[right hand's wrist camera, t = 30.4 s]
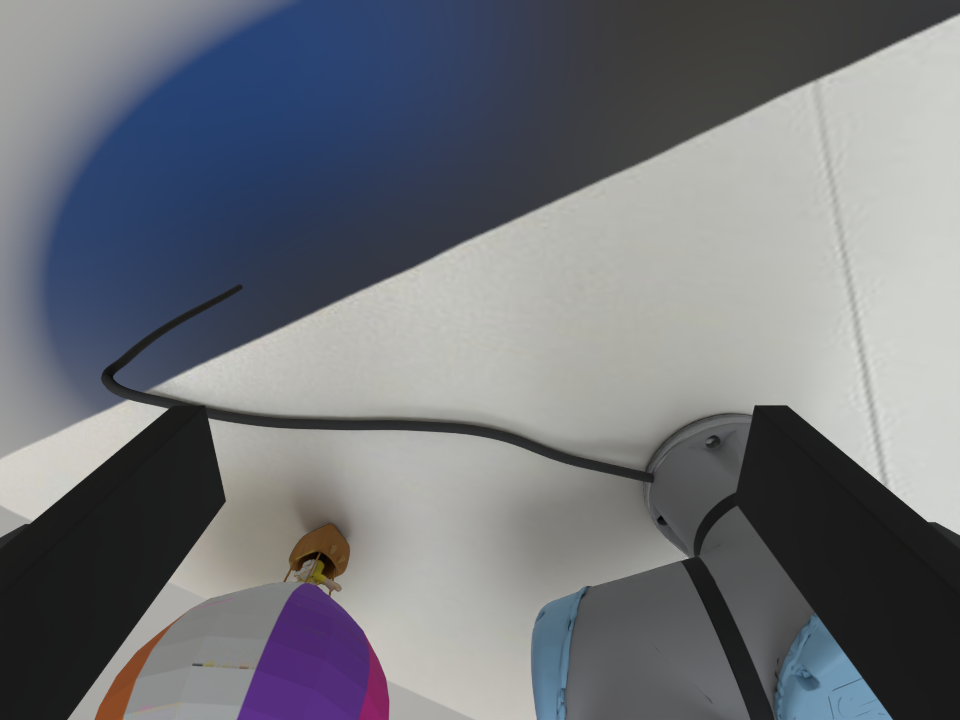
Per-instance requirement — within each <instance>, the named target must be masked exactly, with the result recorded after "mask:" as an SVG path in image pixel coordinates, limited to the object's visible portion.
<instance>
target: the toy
mask: <svg viewBox="0 0 960 720" xmlns="http://www.w3.org/2000/svg"><path fill="white" fill-rule="evenodd" d="M349 554H350V547H349V544H348V543H347V541H346V540H345V539H344V538H343V536H342V535H341V534H340V533H339V531H338V530H337V529H336V528H335V526H334V525H333V524H327V525H325V526H323V527H321V528H319V529H317V530H315V531H313V532H310V533H308V534H306V535H305V536H303V537H302V538H301V539H300V540H299V542H298V543H297V545H296V546H295V548H294V549H293V551H292V553H291V555H290V558H289V563H290V565H291V566H290V567H291V568H290V570H289V572H288V574H287V576H286V578H285V580H284V581H283V582H282V583H272V584H267V585H263V586H258V587H254V588H250V589H246V590H242V591H238V592H234V593H230V594H226V595H222V596H218V597H214V598H210V599H209V600H207V601H205V602H203V603H201V604H199V605H197V606H195V607H193V608H192V609H190V610H189V611H187V612H186V613H185V614H183V615H182V616H181V617H179V618H178V619H177V620H176V621H174V622H173V623H172V624H170V625H169V626H168V627H166V628H165V629H164V630H162V631H161V632H160V633H159V634H157V635H156V636H155V637H154V638H153V639H151V640H150V641H149V642H148V643H147V644H146V645H144V646H143V647H142V648H141V649H140V650H138V651H137V652H136V654H135V655H134V656H133V657H132V658H131V659H130V661H129V662H128V663H127V664H126V666H125V667H124V668H123V669H122V670H121V672H120V673H119V674H118V675H117V676H116V678H115V680H114V682H113V683H112V685H111V687H110V689H109V690H108V692H107V694H106V696H105V698H104V700H103V701H102V703H101V705H100V706H99V709H98V712H97V715H96V717H95V720H389V696H388V689H387V682H386V677H385V675H384V672H383V670H382V667H381V665H380V662H379V660H378V658H377V656H376V654H375V652H374V650H373V648H372V647H371V645H370V643H369V641H368V639H367V637H366V635H365V634H364V632H363V630H362V629H361V628H360V627H359V625H358V624H357V623H356V622H355V621H354V620H353V619H352V617H351V616H350V615H349V614H348V613H347V612H346V611H345V610H344V609H343V608H342V607H341V606H340V605H339V604H338V603H336V602H335V601H334V600H333V599H332V598H331V597H330V596H331V591H333V590H334V589H335V590H336V591H337V592H339V591H340V590H341V589H342V587H341V586H340V585H339V584H338V583H336V582H334V578H335V577H337V576H339V575H341V574H343V573H344V571H345V570H346V567H347V564H348V560H349ZM291 570H293V571H296V573H295V574H294V577H297V580H298V582H285V581H286V580H287V578H288V576H289V574H290V572H291ZM330 579H332V580H330ZM319 584H323V585H326V586H327V587H328V588H329V590H330V592H329V596H328V595H327V594H326V593H324V592H323V590H321V589H320V588H319V587H318V586H317V585H319Z"/></svg>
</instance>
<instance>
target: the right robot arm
mask: <svg viewBox="0 0 960 720" xmlns="http://www.w3.org/2000/svg"><path fill="white" fill-rule="evenodd" d="M242 289H243V286H242V285H241V284H239V285H237V286H235V287H233V288H232V289H230V290H228V291H226V292H224V293H223V294H221V295H219V296H217V297H215V298H213V299H211V300H209V301H207V302H205V303H203V304H201V305H199V306H197V307H195V308H193V309H191V310H190V311H188V312H186V313H184V314H182V315H180V316H178V317H176V318H175V319H173V320H171V321H169V322H168V323H166V324H164V325H163V326H161V327H160V328H158V329H156V330H155V331H154V332H152V333H151V334H149V335H148V336H146V337H145V338H143V339H142V340H141V341H139V342H138V343H137V344H136V345H134V346H133V347H132V348H131V349H129V350H128V351H127V352H126V353H125V354H124V355H122V356H121V357H120V358H119V359H118V360H116V361H115V362H113V363H112V364H111V365H109V366H108V367H107V368H106V369H105V370H104V371H103V373H102V376H101V380H102V382H103V384H104V385H105V387H106V388H107V389H108V390H109V391H111V392H112V393H114V394H116V395H118V396H120V397H123V398H126V399H129V400H133V401H137V402H141V403H146V404H150V405H155V406H160V407H164V408H168V410H167V411H166V412H165V413H163V414H162V415H161V416H160V417H159V418H157V419H156V420H155V421H154V422H153V423H151V424H150V425H149V426H148V427H147V428H145V429H144V430H143V431H142V432H140V433H139V434H138V435H137V436H136V437H134V438H133V439H132V440H131V441H130V442H128V443H127V444H126V445H125V446H124V447H122V448H121V449H120V450H119V451H118V452H116V453H115V454H114V455H113V456H111V457H110V458H109V459H108V460H107V461H105V462H104V463H103V464H102V465H101V466H99V467H98V468H97V469H96V470H95V471H93V472H92V473H91V474H90V475H89V476H87V477H86V478H85V479H84V480H83V481H81V482H80V483H79V484H78V485H76V486H75V487H74V488H73V489H72V490H70V491H69V492H68V493H67V494H66V495H64V496H63V497H62V498H61V499H60V500H58V501H57V502H56V503H55V504H54V505H52V506H51V507H50V508H49V509H47V510H46V511H45V512H44V513H43V514H41V515H40V516H39V517H38V518H37V519H35V520H34V521H33V522H32V523H31V524H24V525H23V526H21V527H19V528H17V529H15V530H13V531H12V532H10V533H8V534H6V535H4V536H2V537H1V538H0V720H67V719H68V718H69V717H70V715H71V714H72V712H73V711H74V710H75V708H76V707H77V706H78V704H79V703H80V701H81V700H82V699H83V697H84V696H85V695H86V693H87V692H88V690H89V689H90V688H91V686H92V685H93V684H94V682H95V681H96V679H97V678H98V677H99V675H100V674H101V673H102V671H103V670H104V668H105V667H106V666H107V664H108V663H109V661H110V660H111V659H112V657H113V656H114V655H115V653H116V652H117V650H118V649H119V648H120V646H121V645H122V644H123V642H124V641H125V639H126V638H127V637H128V635H129V634H130V633H131V631H132V630H133V628H134V627H135V626H136V624H137V623H138V621H139V620H140V619H141V617H142V616H143V615H144V613H145V612H146V611H147V609H148V608H149V606H150V605H151V604H152V602H153V601H154V599H155V598H156V597H157V595H158V594H159V593H160V591H161V590H162V589H163V587H164V586H165V584H166V583H167V582H168V580H169V579H170V578H171V576H172V575H173V573H174V572H175V571H176V569H177V568H178V567H179V565H180V564H181V562H182V561H183V560H184V558H185V557H186V555H187V554H188V553H189V551H190V550H191V549H192V547H193V546H194V544H195V543H196V542H197V540H198V539H199V538H200V536H201V535H202V533H203V532H204V531H205V529H206V528H207V527H208V525H209V524H210V522H211V521H212V520H213V518H214V517H215V516H216V514H217V513H218V511H219V510H220V509H221V507H222V506H223V505H224V503H225V502H226V499H225V495H224V490H223V485H222V481H221V476H220V471H219V467H218V462H217V458H216V453H215V448H214V444H213V439H212V435H211V430H210V425H209V421H208V418H210V419H216V420H221V421H227V422H233V423H240V424H247V425H255V426H264V427H275V428H291V429H324V430H410V431H430V432H447V433H459V434H468V435H475V436H481V437H486V438H491V439H496V440H500V441H504V442H507V443H510V444H514V445H516V446H519V447H522V448H525V449H527V450H530V451H532V452H535V453H537V454H540V455H542V456H545V457H548V458H550V459H553V460H556V461H559V462H563V463H566V464H570V465H574V466H577V467H582V468H586V469H590V470H595V471H600V472H604V473H609V474H613V475H618V476H622V477H627V478H631V479H635V480H640V481H644V499H645V503H646V506H647V508H648V511H649V513H650V515H651V517H652V519H653V521H654V523H655V525H656V526H657V528H658V529H659V530H660V532H661V533H662V534H663V535H664V536H665V537H666V538H667V539H668V540H669V541H670V542H672V543H673V544H674V545H675V546H676V547H677V548H679V549H680V550H681V551H682V552H683V553H684V554H685V555H687V556H688V557H689V559H686V560H683V561H678V562H675V563H672V564H668V565H665V566H662V567H658V568H655V569H652V570H649V571H645V572H642V573H639V574H636V575H632V576H629V577H625V578H622V579H618V580H615V581H611V582H608V583H604V584H601V585H597V586H594V587H591V586H587V587H583V588H582V589H581V590H580V591H579V592H576V593H574V594H571V595H568V596H566V597H563V598H560V599H557V600H554V601H552V602H550V603H548V604H547V605H545V606H544V607H543V608H542V609H541V611H540V612H539V614H538V616H537V618H536V621H535V625H534V629H533V633H532V643H531V672H532V685H533V694H534V702H535V710H536V716H537V720H960V535H958V534H956V533H954V532H953V531H951V530H949V529H947V528H945V527H943V526H942V525H940V524H938V523H936V522H927V521H926V520H925V519H923V518H922V517H921V516H920V515H919V514H917V513H916V512H915V511H914V510H913V509H911V508H910V507H909V506H908V505H906V504H905V503H904V502H903V501H902V500H900V499H899V498H898V497H897V496H896V495H894V494H893V493H892V492H891V491H890V490H888V489H887V488H886V487H885V486H884V485H882V484H881V483H880V482H879V481H877V480H876V479H875V478H874V477H873V476H871V475H870V474H869V473H868V472H867V471H865V470H864V469H863V468H862V467H861V466H859V465H858V464H857V463H856V462H855V461H853V460H852V459H851V458H850V457H848V456H847V455H846V454H845V453H844V452H842V451H841V450H840V449H839V448H838V447H836V446H835V445H834V444H833V443H832V442H830V441H829V440H828V439H827V438H826V437H824V436H823V435H822V434H821V433H820V432H818V431H817V430H816V429H815V428H813V427H812V426H811V425H810V424H809V423H807V422H806V421H805V420H804V419H803V418H801V417H800V416H799V415H798V414H797V413H795V412H794V411H793V410H792V409H791V408H789V407H788V406H787V405H755V407H754V411H753V416H749V415H742V414H725V415H718V416H713V417H708V418H705V419H702V420H699V421H697V422H694V423H692V424H690V425H688V426H686V427H684V428H683V429H681V430H680V431H678V432H677V433H675V434H674V435H673V436H671V437H670V438H669V439H668V440H667V441H666V442H665V443H664V444H663V445H662V446H661V447H660V448H659V450H658V451H657V452H656V454H655V455H654V457H653V458H652V460H651V462H650V464H649V466H648V469H647V471H646V472H643V471H638V470H634V469H629V468H625V467H620V466H616V465H611V464H607V463H602V462H598V461H593V460H588V459H584V458H580V457H576V456H572V455H568V454H565V453H562V452H559V451H556V450H553V449H550V448H547V447H545V446H542V445H540V444H537V443H535V442H532V441H530V440H527V439H524V438H522V437H519V436H516V435H513V434H510V433H506V432H503V431H499V430H495V429H490V428H485V427H479V426H473V425H465V424H455V423H440V422H421V421H398V420H369V421H344V420H307V419H283V418H271V417H261V416H253V415H246V414H239V413H232V412H226V411H221V410H216V409H211V408H206V407H205V405H193V404H189V403H185V402H181V401H177V400H173V399H169V398H165V397H161V396H156V395H151V394H147V393H142V392H138V391H135V390H131V389H128V388H126V387H124V386H122V385H120V384H118V383H117V382H116V381H115V380H114V379H113V376H114V375H115V373H116V372H118V371H119V370H120V369H122V368H123V367H124V366H126V365H127V364H128V363H129V362H130V361H131V360H133V359H134V358H135V357H136V356H137V355H138V354H139V353H140V352H141V351H143V350H144V349H145V348H146V347H147V346H149V345H150V344H151V343H152V342H154V341H155V340H157V339H158V338H159V337H161V336H162V335H164V334H165V333H167V332H168V331H170V330H171V329H173V328H175V327H176V326H178V325H180V324H181V323H183V322H185V321H187V320H188V319H190V318H192V317H194V316H196V315H197V314H199V313H201V312H203V311H205V310H207V309H209V308H210V307H212V306H214V305H216V304H218V303H220V302H221V301H223V300H225V299H227V298H229V297H230V296H232V295H234V294H235V293H237V292H239V291H240V290H242Z"/></svg>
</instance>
